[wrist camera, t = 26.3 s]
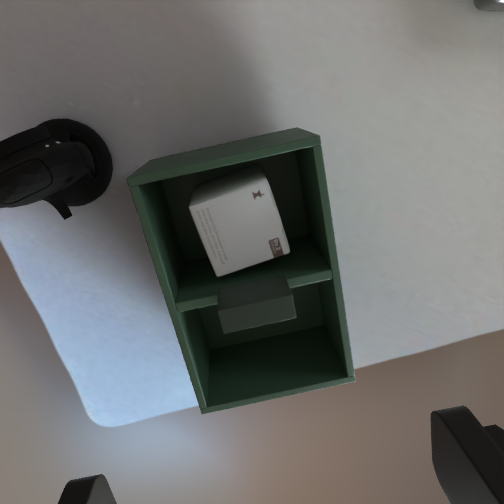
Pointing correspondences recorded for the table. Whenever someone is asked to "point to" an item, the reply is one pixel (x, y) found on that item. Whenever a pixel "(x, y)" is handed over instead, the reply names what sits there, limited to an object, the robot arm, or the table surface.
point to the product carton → (238, 220)
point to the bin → (250, 275)
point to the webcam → (53, 166)
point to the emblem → (489, 5)
